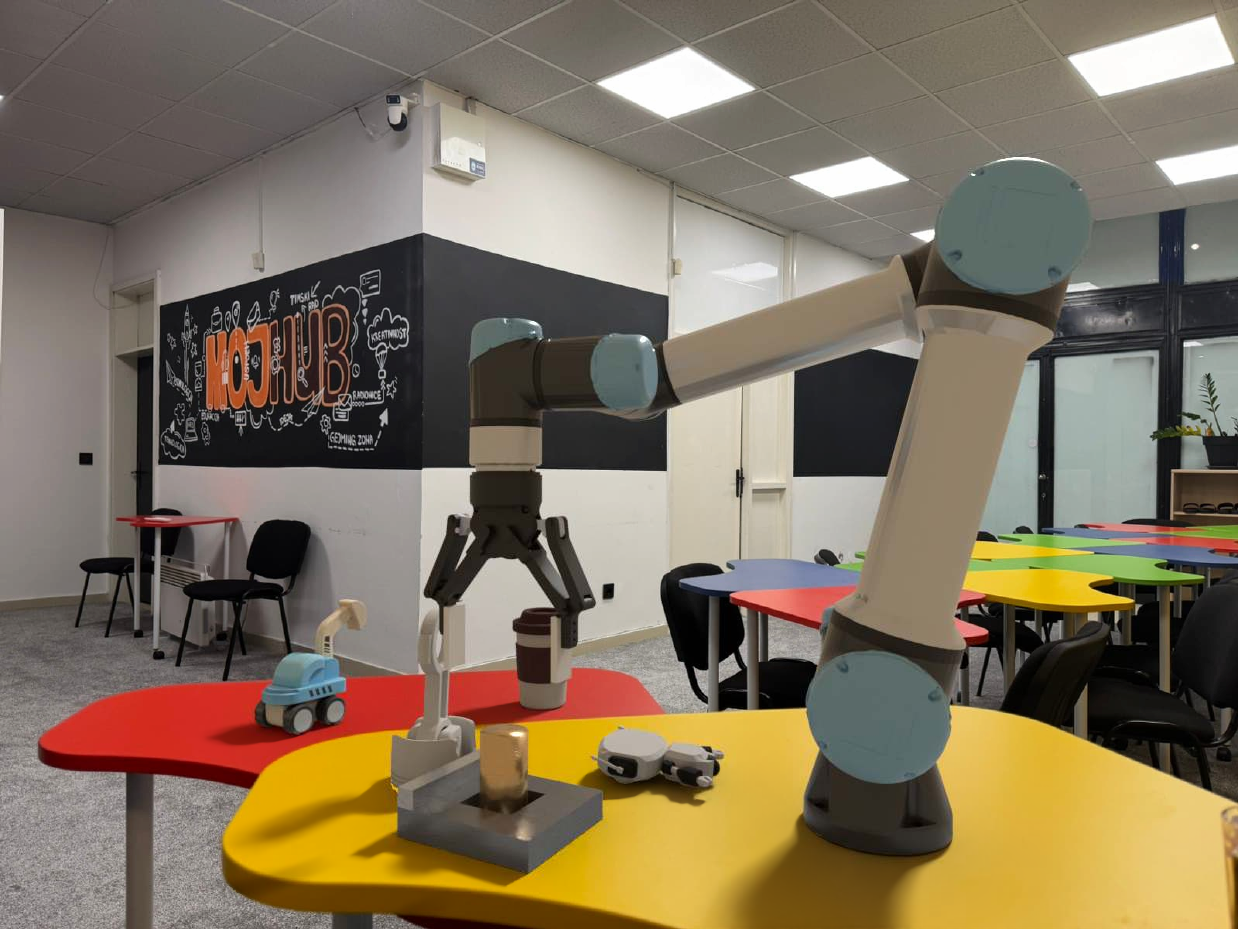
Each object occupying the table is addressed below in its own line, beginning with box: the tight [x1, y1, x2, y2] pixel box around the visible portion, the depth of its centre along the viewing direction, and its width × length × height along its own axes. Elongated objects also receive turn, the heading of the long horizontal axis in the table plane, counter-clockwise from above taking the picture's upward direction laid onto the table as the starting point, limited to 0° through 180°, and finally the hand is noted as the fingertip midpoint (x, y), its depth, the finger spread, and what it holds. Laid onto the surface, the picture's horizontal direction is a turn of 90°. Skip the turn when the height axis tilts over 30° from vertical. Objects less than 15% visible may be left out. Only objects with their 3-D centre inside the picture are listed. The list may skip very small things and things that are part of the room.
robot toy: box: [590, 725, 725, 788], centre depth 102 cm, size 12×4×15 cm
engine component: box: [390, 607, 478, 788], centre depth 100 cm, size 11×20×10 cm
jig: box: [396, 748, 604, 874], centre depth 87 cm, size 16×14×5 cm
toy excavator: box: [253, 598, 368, 736], centre depth 123 cm, size 9×17×17 cm, turn 148°
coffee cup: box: [511, 606, 568, 710], centre depth 133 cm, size 10×10×15 cm
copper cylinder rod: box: [479, 723, 529, 815], centre depth 87 cm, size 5×5×10 cm
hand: (505, 673), depth 87 cm, fingers open, 13 cm apart
